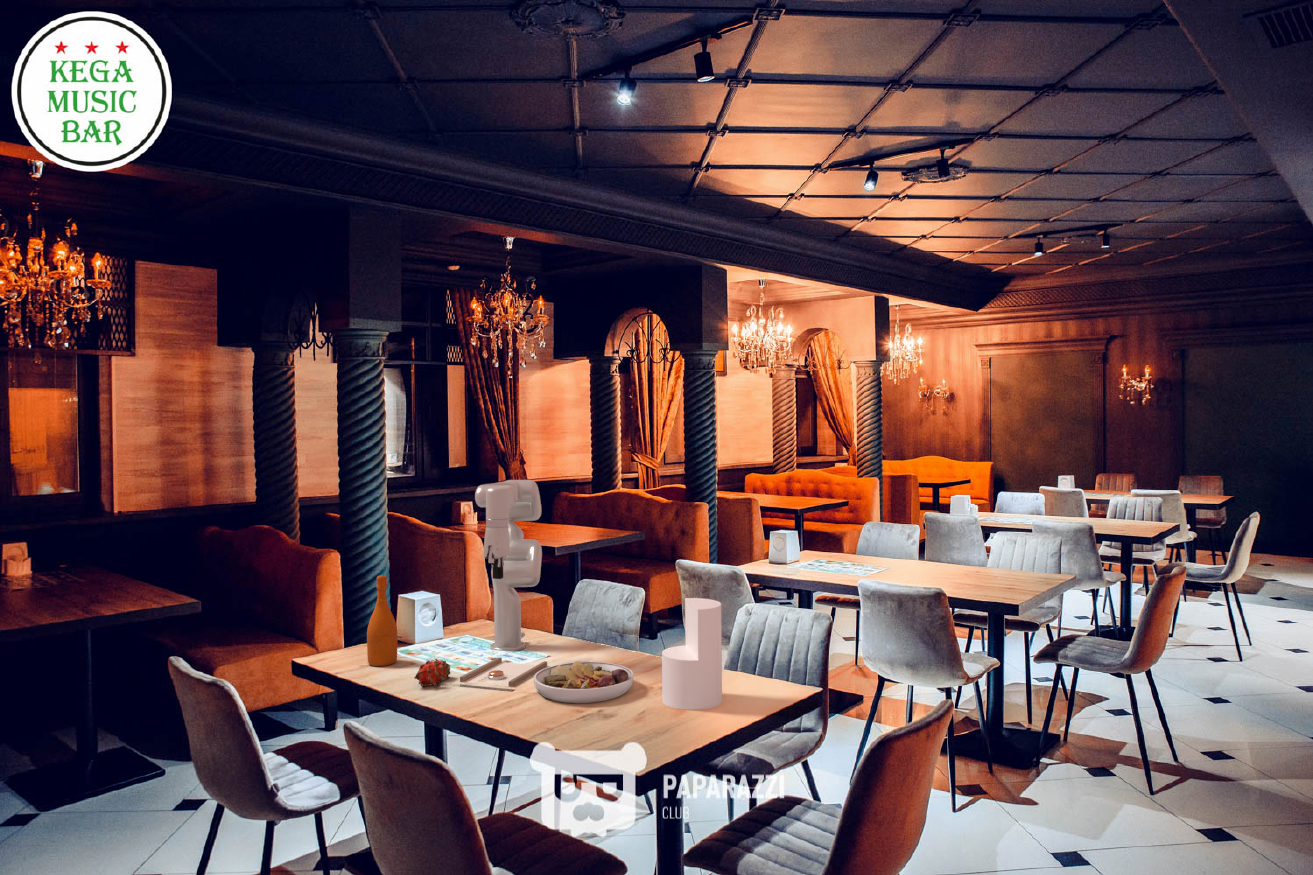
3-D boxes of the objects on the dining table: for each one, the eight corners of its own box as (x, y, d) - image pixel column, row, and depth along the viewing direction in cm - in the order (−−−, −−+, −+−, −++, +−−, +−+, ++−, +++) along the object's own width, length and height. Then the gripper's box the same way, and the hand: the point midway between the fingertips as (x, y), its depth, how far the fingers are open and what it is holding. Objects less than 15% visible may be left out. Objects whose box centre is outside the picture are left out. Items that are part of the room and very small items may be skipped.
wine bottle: (403, 661, 292) (402, 574, 292) (380, 668, 284) (379, 578, 284) (384, 658, 297) (383, 572, 297) (361, 664, 289) (360, 576, 289)
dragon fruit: (454, 686, 268) (418, 699, 261) (443, 666, 273) (407, 678, 266) (458, 668, 264) (421, 681, 256) (446, 648, 269) (410, 660, 261)
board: (498, 666, 285) (498, 657, 285) (547, 670, 280) (547, 661, 279) (459, 686, 263) (459, 676, 262) (512, 691, 257) (512, 681, 257)
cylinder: (714, 689, 257) (713, 596, 257) (728, 707, 240) (727, 608, 240) (657, 693, 254) (656, 599, 254) (668, 711, 237) (667, 611, 237)
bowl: (515, 700, 249) (515, 674, 249) (561, 673, 277) (561, 649, 277) (610, 711, 239) (609, 683, 239) (648, 681, 267) (647, 656, 267)
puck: (494, 678, 270) (494, 669, 270) (507, 680, 268) (507, 671, 268) (484, 682, 265) (484, 673, 265) (498, 684, 263) (498, 675, 263)
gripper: (498, 521, 296) (499, 574, 296) (476, 526, 281) (476, 581, 281) (517, 522, 293) (518, 575, 293) (496, 526, 279) (496, 582, 279)
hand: (498, 578), depth 287 cm, fingers closed
